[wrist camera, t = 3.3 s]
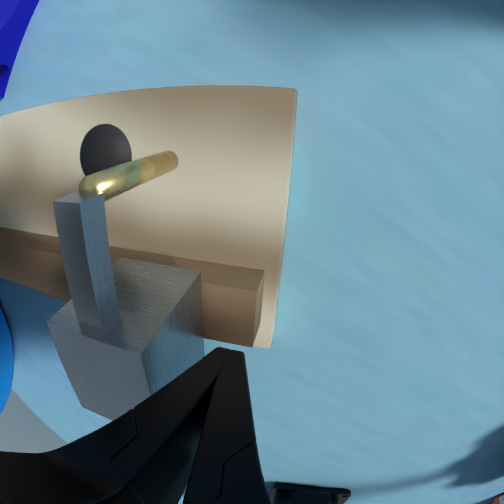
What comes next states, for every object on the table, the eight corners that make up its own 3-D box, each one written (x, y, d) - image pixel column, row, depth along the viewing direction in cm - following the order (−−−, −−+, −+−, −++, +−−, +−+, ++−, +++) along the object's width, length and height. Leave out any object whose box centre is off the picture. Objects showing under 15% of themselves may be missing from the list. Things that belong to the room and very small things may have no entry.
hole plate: (273, 334, 14) (231, 487, 7) (-18, 260, 17) (-85, 307, 11) (297, 91, 10) (249, 39, 3) (-38, 130, 13) (-121, 158, 6)
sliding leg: (212, 338, 12) (162, 438, 8) (145, 323, 13) (82, 406, 8) (213, 152, 9) (117, 190, 5) (129, 150, 10) (14, 186, 5)
